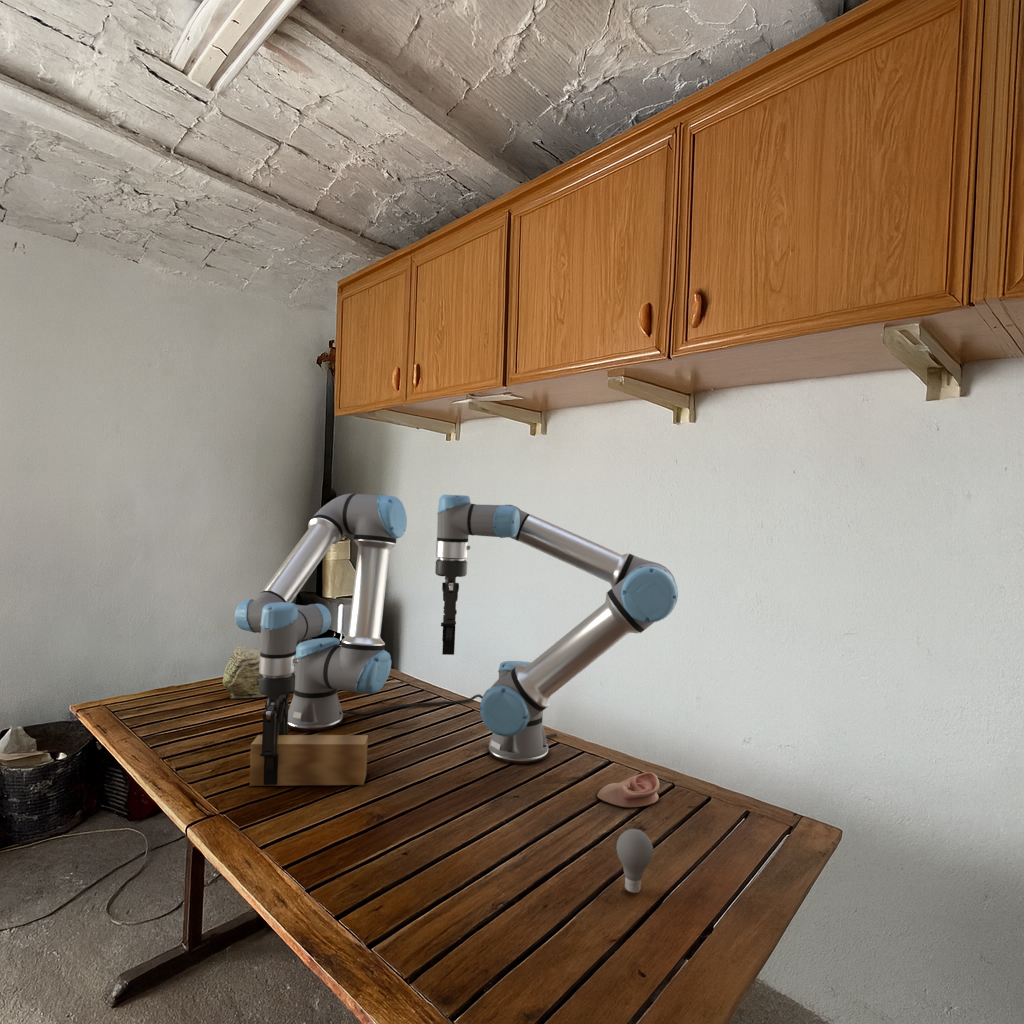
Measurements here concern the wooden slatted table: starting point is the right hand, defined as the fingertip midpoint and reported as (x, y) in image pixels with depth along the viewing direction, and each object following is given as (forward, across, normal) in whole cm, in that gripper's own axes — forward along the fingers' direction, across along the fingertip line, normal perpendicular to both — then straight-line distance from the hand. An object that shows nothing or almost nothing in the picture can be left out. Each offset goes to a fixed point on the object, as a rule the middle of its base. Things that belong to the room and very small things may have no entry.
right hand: (447, 647), depth 152 cm
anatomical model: (+28, -17, -41) cm, 52 cm away
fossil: (+28, +52, +59) cm, 84 cm away
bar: (+28, -8, +30) cm, 42 cm away
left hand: (+28, -8, +37) cm, 47 cm away
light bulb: (+28, -51, -31) cm, 66 cm away
